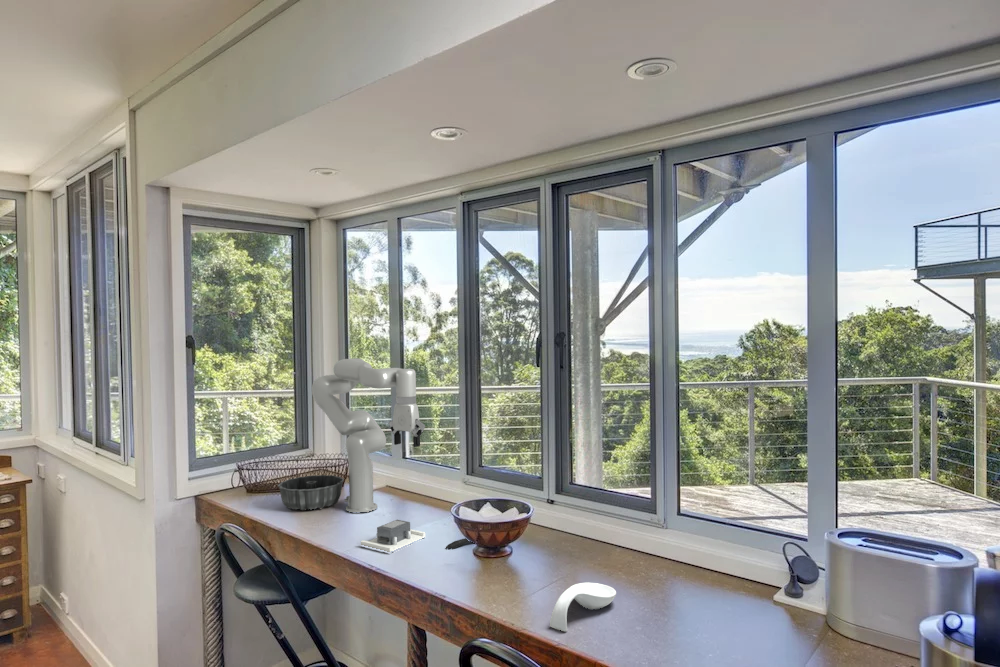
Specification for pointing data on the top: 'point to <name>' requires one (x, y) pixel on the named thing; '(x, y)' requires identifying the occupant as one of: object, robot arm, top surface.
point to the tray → (395, 541)
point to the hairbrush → (457, 543)
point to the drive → (393, 532)
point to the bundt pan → (311, 491)
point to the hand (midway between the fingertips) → (407, 445)
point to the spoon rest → (581, 601)
